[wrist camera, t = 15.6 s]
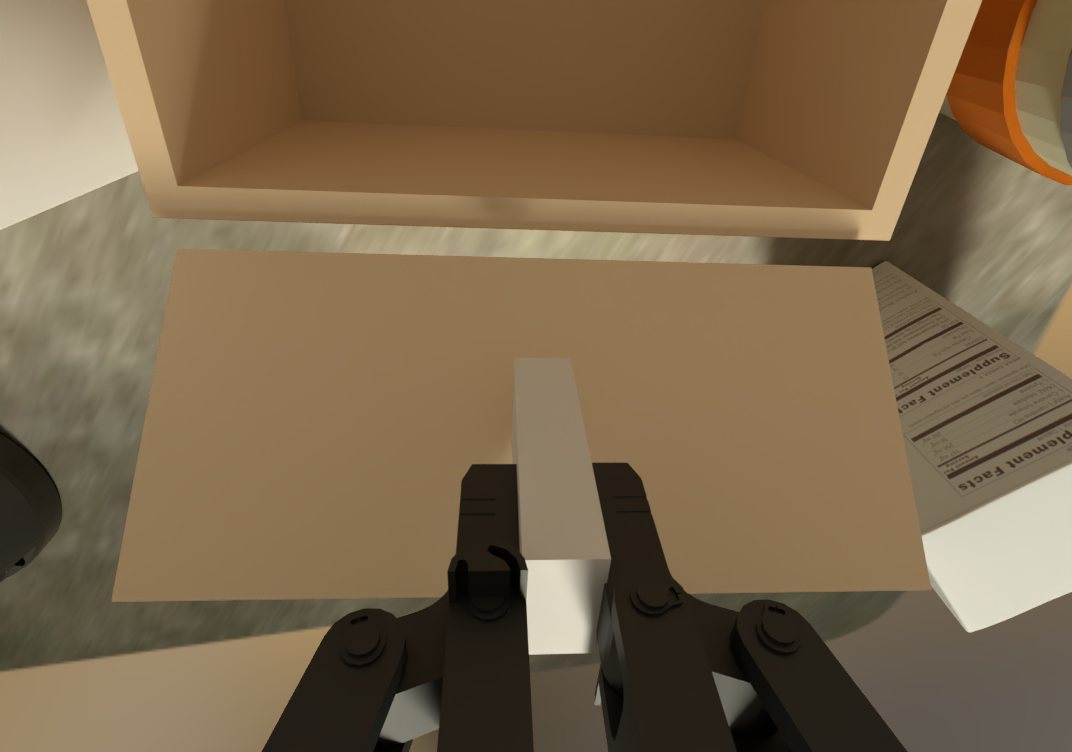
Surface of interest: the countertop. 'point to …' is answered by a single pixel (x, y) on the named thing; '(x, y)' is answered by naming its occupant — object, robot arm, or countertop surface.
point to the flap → (486, 420)
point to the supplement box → (980, 454)
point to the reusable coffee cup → (1018, 84)
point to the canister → (55, 109)
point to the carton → (535, 111)
